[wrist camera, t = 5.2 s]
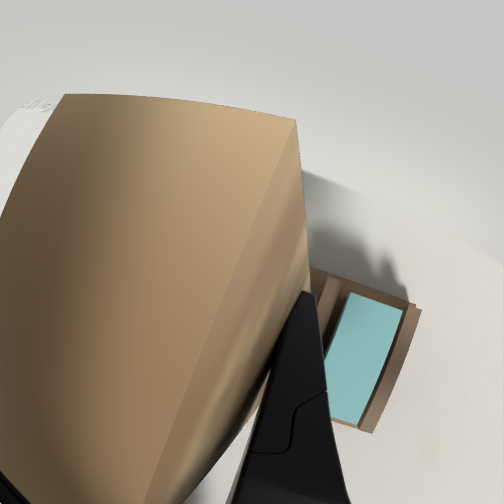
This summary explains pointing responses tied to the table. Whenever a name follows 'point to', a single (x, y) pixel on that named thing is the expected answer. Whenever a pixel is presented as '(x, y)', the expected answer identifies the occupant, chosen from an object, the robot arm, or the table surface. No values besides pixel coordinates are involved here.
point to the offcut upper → (358, 354)
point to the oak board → (143, 293)
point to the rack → (329, 304)
